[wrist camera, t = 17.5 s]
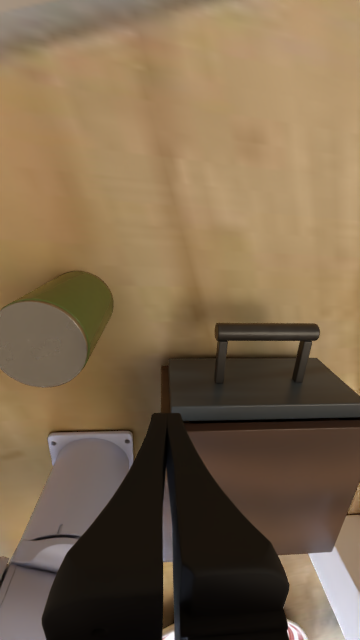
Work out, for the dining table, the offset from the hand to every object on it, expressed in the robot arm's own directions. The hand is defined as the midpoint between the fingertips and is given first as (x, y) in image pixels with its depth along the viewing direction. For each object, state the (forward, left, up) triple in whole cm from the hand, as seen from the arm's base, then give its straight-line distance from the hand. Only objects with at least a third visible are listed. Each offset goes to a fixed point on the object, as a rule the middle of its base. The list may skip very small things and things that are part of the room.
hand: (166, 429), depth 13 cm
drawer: (-5, -7, -10) cm, 13 cm away
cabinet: (-9, -7, -10) cm, 16 cm away
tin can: (+3, +7, -10) cm, 13 cm away
